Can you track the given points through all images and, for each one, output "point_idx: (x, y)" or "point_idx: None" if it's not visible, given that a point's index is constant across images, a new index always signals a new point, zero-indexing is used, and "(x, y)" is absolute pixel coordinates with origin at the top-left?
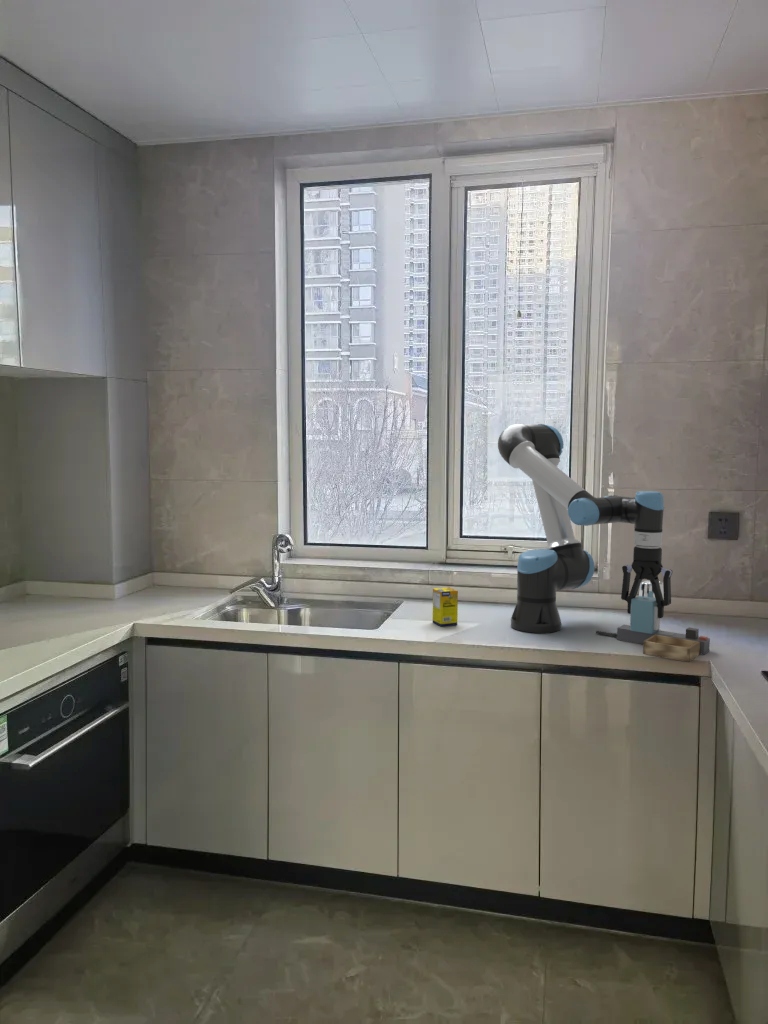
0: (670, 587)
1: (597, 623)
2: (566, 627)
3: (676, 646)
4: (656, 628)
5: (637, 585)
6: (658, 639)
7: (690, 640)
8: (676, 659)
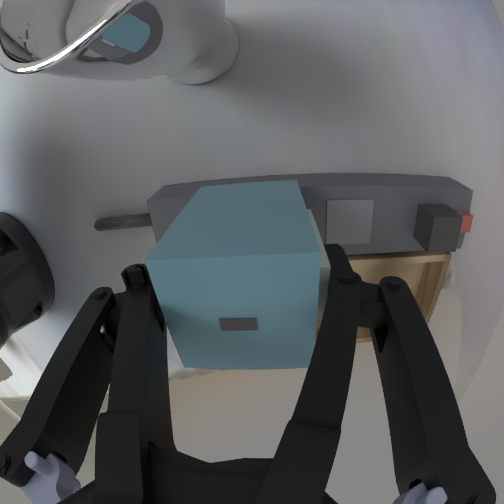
0: (442, 373)
1: (38, 107)
2: (30, 217)
3: None
4: None
5: (168, 414)
6: None
7: (428, 259)
8: None
